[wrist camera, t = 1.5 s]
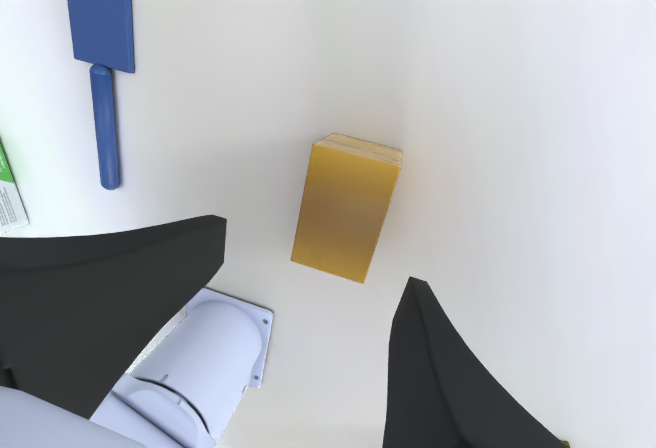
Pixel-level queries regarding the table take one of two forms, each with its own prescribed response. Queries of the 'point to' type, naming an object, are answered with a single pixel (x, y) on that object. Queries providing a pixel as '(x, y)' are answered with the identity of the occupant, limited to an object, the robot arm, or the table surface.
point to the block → (344, 205)
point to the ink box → (9, 200)
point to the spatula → (103, 67)
